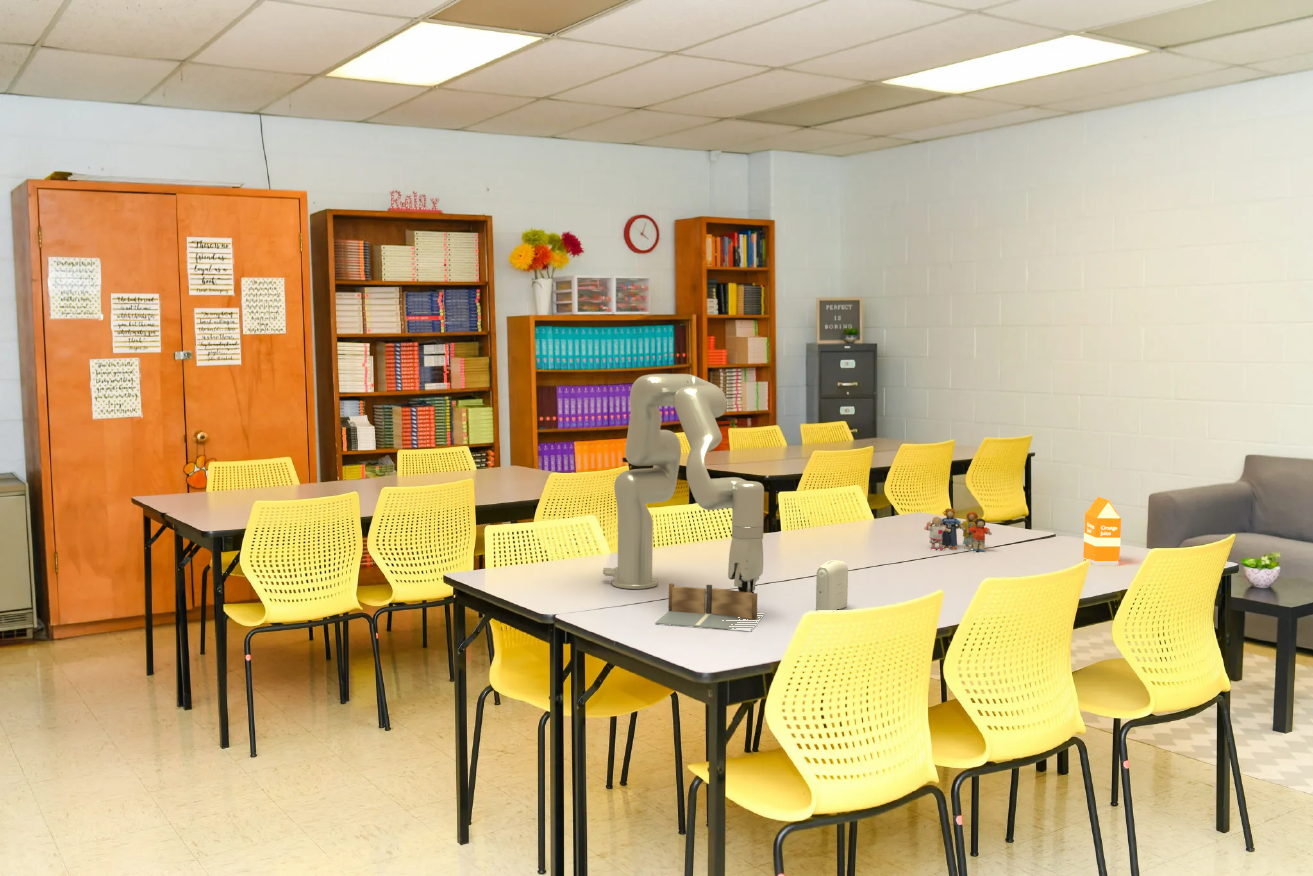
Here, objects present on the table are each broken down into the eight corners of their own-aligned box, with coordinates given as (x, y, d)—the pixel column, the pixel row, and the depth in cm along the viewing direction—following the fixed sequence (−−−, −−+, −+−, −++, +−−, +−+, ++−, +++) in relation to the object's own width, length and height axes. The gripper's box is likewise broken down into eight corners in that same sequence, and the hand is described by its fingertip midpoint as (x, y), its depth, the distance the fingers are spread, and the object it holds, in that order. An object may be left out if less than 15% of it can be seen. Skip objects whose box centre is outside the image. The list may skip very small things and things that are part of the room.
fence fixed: (667, 611, 276) (668, 582, 276) (669, 609, 278) (669, 581, 277) (711, 614, 273) (711, 586, 273) (712, 613, 275) (712, 584, 274)
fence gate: (711, 613, 273) (711, 589, 273) (713, 612, 274) (714, 588, 274) (755, 619, 268) (755, 594, 267) (757, 618, 269) (758, 593, 268)
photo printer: (828, 614, 276) (829, 564, 275) (813, 611, 279) (814, 562, 278) (849, 607, 284) (850, 559, 283) (834, 604, 286) (836, 556, 285)
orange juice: (1107, 560, 351) (1110, 496, 349) (1119, 565, 342) (1122, 500, 340) (1082, 560, 351) (1085, 496, 349) (1094, 565, 342) (1097, 500, 340)
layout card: (654, 624, 264) (654, 622, 264) (674, 607, 282) (674, 605, 282) (751, 631, 258) (751, 630, 258) (765, 614, 276) (765, 612, 276)
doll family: (923, 550, 365) (924, 509, 364) (923, 544, 374) (924, 505, 373) (991, 553, 360) (993, 512, 359) (989, 548, 370) (990, 508, 369)
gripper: (748, 527, 280) (747, 599, 281) (718, 535, 267) (717, 611, 269) (775, 530, 276) (774, 603, 277) (746, 538, 263) (745, 615, 265)
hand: (746, 607), depth 273 cm, fingers closed
